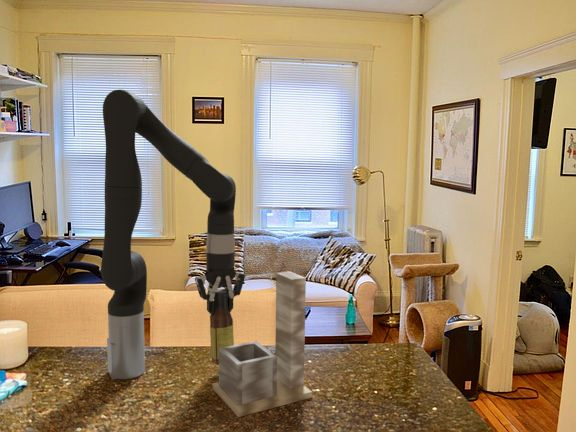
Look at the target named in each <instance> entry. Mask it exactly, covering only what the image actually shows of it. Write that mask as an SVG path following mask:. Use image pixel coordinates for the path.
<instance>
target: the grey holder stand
mask: <svg viewBox="0 0 576 432" xmlns="http://www.w3.org/2000/svg"><path fill="white" fill-rule="evenodd" d="M275 276H276V277H275V279H276V283H275V348H274V349H275V354H274V353H273V352H272V351H271V350H270V349H268V348H267V347H265V346H264V345H262V343H260V342H258V341H257V340H255V341H249V342H244V343H240V344H239V343H238V344H234V345H233V346H227V347H222V348H219V365H218V381H216V382H213V383H212V390H213V391H214V393H216V394H217V396H219V397H220V399H221V400H222V401H223V402H224V403H225V404H226V405H227V406H228V408H230V410H231V411H232V412H233V413H234V414H235V415H236V416H237V418H241V417H243V416H244V417H245V416H248V415H251V414H255V413H258V412H259V413H260V412H263V411H266V410H270V409H274V408H278V407H281V406H282V407H283V406H285V405H290V404H293V403H295V402H299V401H300V402H301V401H304V400H308V399H312V398H313V391H312V390H311V389H309V388H308V387H307V386H305V385H304V384H305V346H306V345H305V344H306V343H305V341H306V338H305V336H306V335H305V334H306V294H307V292H306V289H307V288H306V287H307V286H306V285H307V284H306V283H307V282H306V280H307V278H306V277H305V276H302V275H300V274H298V273H295V272H292V271H289V270H288V271H280V272H276V275H275Z"/></svg>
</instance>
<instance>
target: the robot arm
mask: <svg viewBox="0 0 576 432" xmlns="http://www.w3.org/2000/svg"><path fill="white" fill-rule="evenodd" d="M102 117H103V127H104V137H105V139H104V140H105V155H104V156H105V160H104V161H105V162H104V170H105V171H104V237H103V239H104V240H103V247H102V256H101V263H100V275H101V279H102V281H103V284H104V285H105V286H106V287H107V288H108V289H109V290H111V291H112V292H113V291H114V292H113V294H112V297H111V298H110V300H109V301H108V303H107V329H108V330H107V331H108V337H107V339H106V346H107V348H106V349H107V351H106V352H107V372H108V375H109V376H110V378H111V380H128V379H129V380H130V379H134V378H138V377H140V376H142V375H143V374H144V373H145V371H146V362H145V361H146V360H145V358H146V356H145V353H146V351H145V318H144V317H145V311H144V310H145V309H144V307H145V305H144V304H145V302H146V299H147V287H148V286H147V283H148V281H147V280H148V278H147V277H148V274H147V273H148V272H147V271H148V270H147V265H146V261H145V259H144V256H142V255H141V254H140V253H138V252H136V251H133V250H132V236H133V233H134V231H135V230H134V229H135V227H136V223H137V221H138V218H139V215H140V212H141V208H142V202H143V182H142V180H143V179H142V173H141V167H140V165H139V161H138V157H137V151H136V134H137V135H139V136H140V137H142V138H143V139H145V140H146V141H148V143H150V144H151V145H152V146H153V147H154V148H155V149H156V150H157V151H158V152H159V153H160V154H161V156H163V158H164V159H165V160H166V161H167V162H168V163H169V164H170V165H171V166H172V167H174V168H175V169H176V170H177V171H178V172H179V173H181V174H182V175H184V177H186V178H188V179H189V180H190V181H192V183H193V184H194V185H195V186H196V187H197V188H198V189H199V190H200V191H201V192H202V193H203V194H204V195H205V196H206V197H208V198H209V202H210V203H209V212H208V215H207V228H206V229H207V234H206V244H205V248H206V250H205V253H206V255H205V259H206V261H205V262H206V263H205V264H206V265H205V266H206V267H205V268H206V269H205V272H204V275H201V276H196V277H195V278H194V281H195V284H196V288H197V291H198V295H199V297H200V298H202V300H206V311H207V313H208V314H210V315H212V314H214V296H215V293H216V292H217V289H222V288H223V289H226V290H227V291H228V296H227V300H228V308H229V312H230V313H231V312H232V311H233V309H234V298H235V297H236V296H240V295H241V292H242V290H243V289H242V288H243V286H244V282H245V278H246V275H245V273H242V272H238V271H236V269H235V266H236V265H235V262H236V261H235V260H236V257H235V256H236V240H235V238H236V237H235V203H236V194H237V193H236V192H237V191H236V190H237V188H236V183H235V181H234V179H233V178H232V177H231V176H230V175H228V174H224V173H222V172H220V171H219V170H218V169H217V168H216V167H215V166H213V165H211V163H210V162H209V160H208V159H207V158H206V157H205V156H204V155H202V154H201V152H199V151H198V150H197V149H196V148H194V147H193V146H192V145H191V144H189V143H188V142H187V141H186V140H184V139H183V138H181V137H180V136H179V135H178V134H176V133H175V132H174V131H173V130H171V129H170V128H169V127H168V126H167V125H166V124H165V123H164V122H162V120H161V119H160V118H159V117H158V116H157V115H156V114H155V113H154V112H153V111H152V109H151V108H150V107H149V106H148V105H147V104H146V102H144V100H143V99H142V98H141V97H140V96H139V95H137V94H136V93H133V92H132V91H131V92H130V91H128V90H124V89H114V90H112V91H110V92H109V93H107V95H106V97H105V98H104V100H103V104H102ZM234 279H235V282H234V285H232V284H233V283H232V282H233V280H234ZM206 281H207V282H208V286H207V292H206V289H205V286H204V285H205V283H206Z"/></svg>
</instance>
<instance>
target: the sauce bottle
mask: <svg viewBox="0 0 576 432" xmlns="http://www.w3.org/2000/svg"><path fill="white" fill-rule="evenodd" d="M227 296H228V291H227V290H226V289H224V288H218V289H217V292H216V293H215V296H214V299H213V301H214V314H212V315H211V314H210V315H209V322H210V323H209V324H210V325H209V329H210V330H209V331H210V356H211V361H212V363H213V364H215V365H217V366H219V348H222V347H227V346H233V345H235V343H234V342H235V341H234V340H235V339H234V319H233V315H232V314H231V312H229V308H228V300H227Z"/></svg>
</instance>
